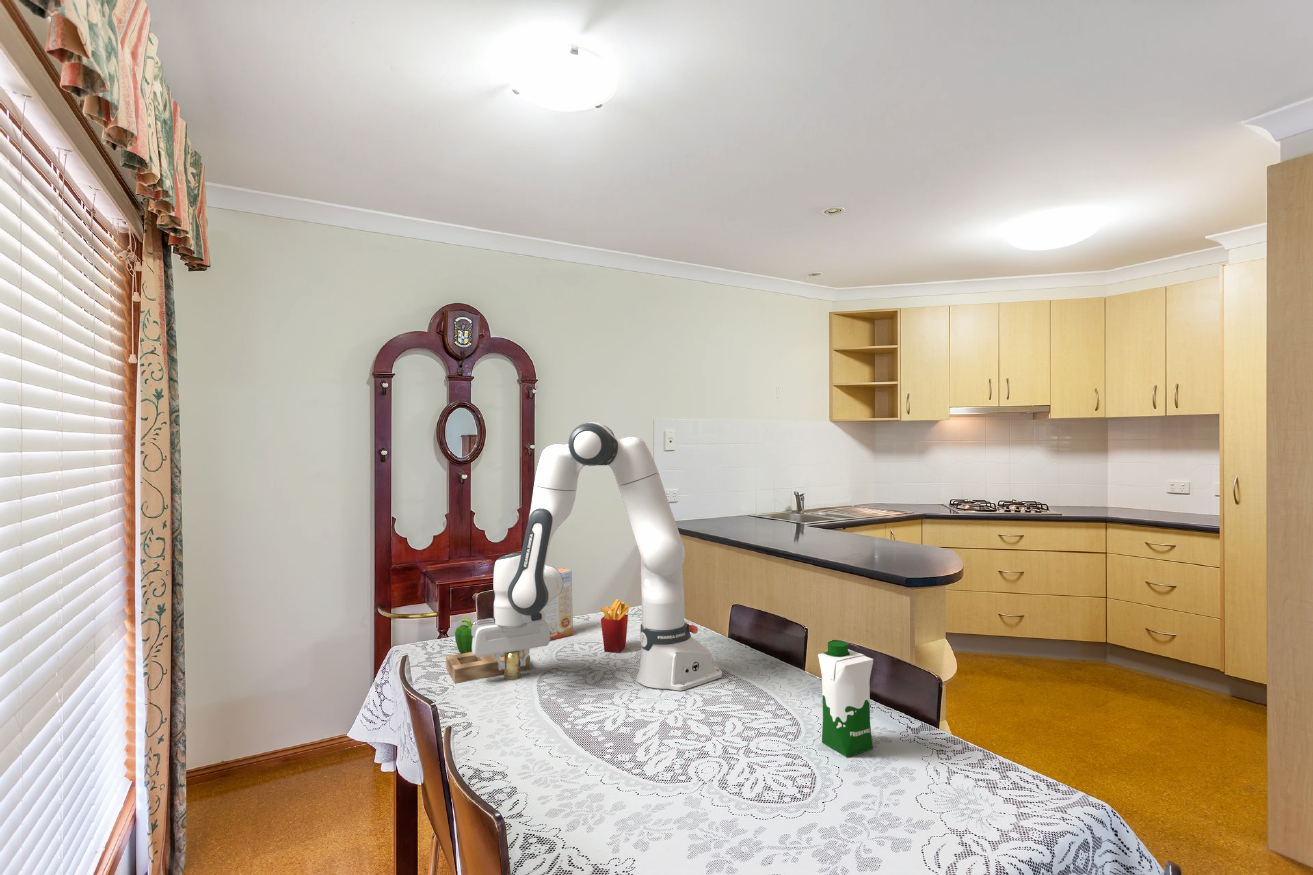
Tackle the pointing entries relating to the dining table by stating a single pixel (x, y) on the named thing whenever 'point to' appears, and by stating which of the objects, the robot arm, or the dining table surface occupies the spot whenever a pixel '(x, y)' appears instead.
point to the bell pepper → (464, 637)
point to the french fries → (615, 627)
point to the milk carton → (846, 699)
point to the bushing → (512, 665)
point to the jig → (476, 666)
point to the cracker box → (561, 609)
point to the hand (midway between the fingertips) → (512, 667)
